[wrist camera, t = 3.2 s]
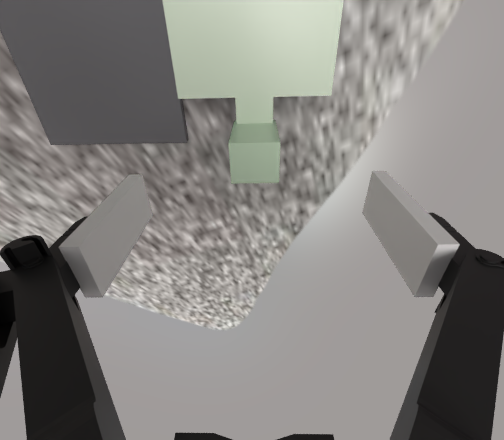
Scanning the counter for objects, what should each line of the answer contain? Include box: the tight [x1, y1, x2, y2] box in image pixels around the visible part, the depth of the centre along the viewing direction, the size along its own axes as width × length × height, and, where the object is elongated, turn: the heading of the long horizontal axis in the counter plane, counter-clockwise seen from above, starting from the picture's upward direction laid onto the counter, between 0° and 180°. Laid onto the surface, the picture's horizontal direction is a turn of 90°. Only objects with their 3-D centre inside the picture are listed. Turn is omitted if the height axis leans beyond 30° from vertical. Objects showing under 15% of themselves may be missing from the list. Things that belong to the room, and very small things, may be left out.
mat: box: [0, 0, 188, 145], centre depth 26 cm, size 16×22×1 cm
